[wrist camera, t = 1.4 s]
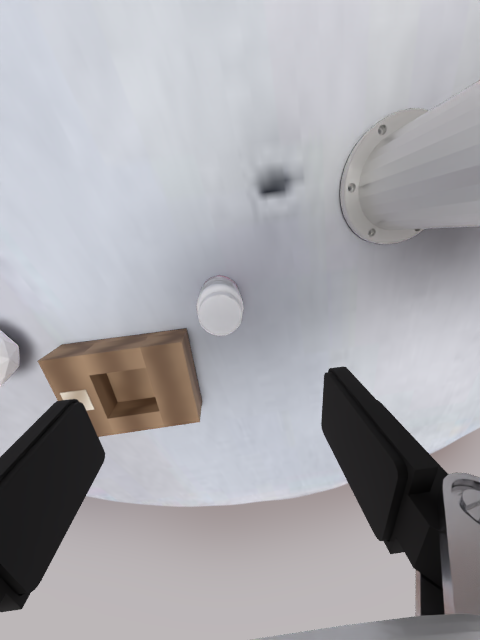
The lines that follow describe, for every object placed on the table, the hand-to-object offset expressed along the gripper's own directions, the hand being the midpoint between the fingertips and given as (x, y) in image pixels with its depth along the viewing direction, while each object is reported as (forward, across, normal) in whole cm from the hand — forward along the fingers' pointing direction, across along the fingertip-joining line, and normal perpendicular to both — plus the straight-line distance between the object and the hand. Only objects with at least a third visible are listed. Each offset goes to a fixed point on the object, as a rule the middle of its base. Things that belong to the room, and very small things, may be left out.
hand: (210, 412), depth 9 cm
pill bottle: (+20, 0, 0) cm, 20 cm away
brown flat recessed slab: (+20, +13, +11) cm, 26 cm away
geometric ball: (+20, +28, +4) cm, 35 cm away
